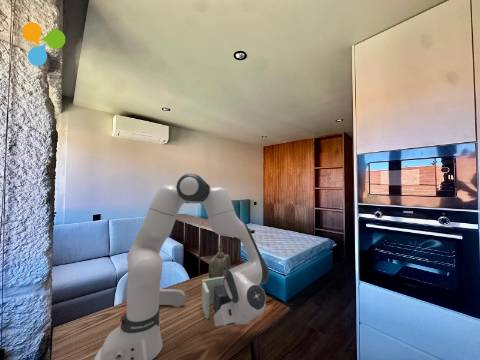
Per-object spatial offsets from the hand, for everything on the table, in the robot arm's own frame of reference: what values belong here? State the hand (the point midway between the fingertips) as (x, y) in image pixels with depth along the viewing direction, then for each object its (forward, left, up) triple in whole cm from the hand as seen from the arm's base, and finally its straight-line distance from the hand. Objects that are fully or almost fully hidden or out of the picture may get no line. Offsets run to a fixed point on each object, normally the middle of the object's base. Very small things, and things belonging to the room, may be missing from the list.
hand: (234, 319), depth 87 cm
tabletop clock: (+4, +40, -5) cm, 40 cm away
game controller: (-27, +29, -5) cm, 40 cm away
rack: (0, +18, -5) cm, 18 cm away
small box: (-2, +14, -5) cm, 16 cm away
